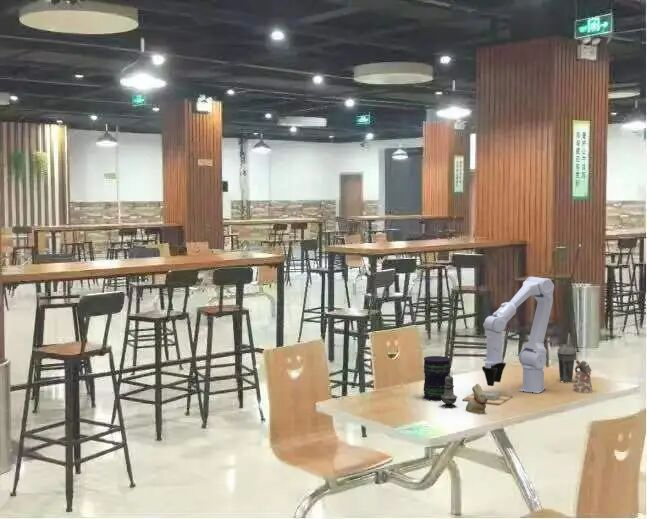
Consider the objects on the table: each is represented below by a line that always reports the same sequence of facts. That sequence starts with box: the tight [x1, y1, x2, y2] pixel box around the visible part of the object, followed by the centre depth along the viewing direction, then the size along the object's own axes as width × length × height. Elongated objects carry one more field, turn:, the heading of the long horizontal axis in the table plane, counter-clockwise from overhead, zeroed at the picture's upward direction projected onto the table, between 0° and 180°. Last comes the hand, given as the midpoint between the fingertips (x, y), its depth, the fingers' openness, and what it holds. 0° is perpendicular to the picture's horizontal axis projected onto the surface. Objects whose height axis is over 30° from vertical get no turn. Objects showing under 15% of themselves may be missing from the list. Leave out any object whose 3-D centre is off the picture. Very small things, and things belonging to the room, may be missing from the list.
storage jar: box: [423, 355, 451, 402], centre depth 308 cm, size 10×10×15 cm
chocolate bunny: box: [465, 383, 488, 414], centre depth 287 cm, size 6×8×10 cm
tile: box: [483, 390, 501, 400], centre depth 306 cm, size 2×8×6 cm
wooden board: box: [462, 392, 514, 406], centre depth 306 cm, size 15×14×1 cm
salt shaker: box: [441, 372, 458, 409], centre depth 295 cm, size 6×6×12 cm
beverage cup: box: [557, 332, 577, 382], centre depth 336 cm, size 7×7×20 cm
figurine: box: [572, 359, 593, 394], centre depth 319 cm, size 7×7×12 cm
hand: (494, 383), depth 312 cm, fingers open, 7 cm apart
